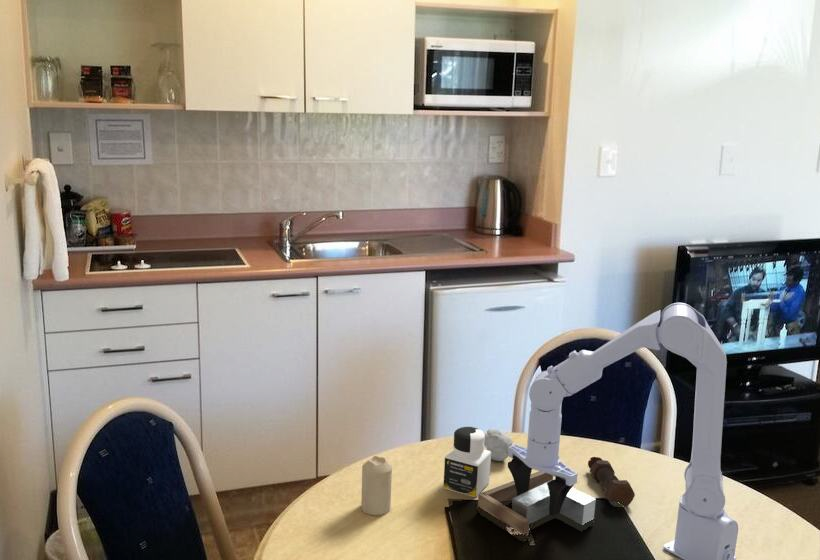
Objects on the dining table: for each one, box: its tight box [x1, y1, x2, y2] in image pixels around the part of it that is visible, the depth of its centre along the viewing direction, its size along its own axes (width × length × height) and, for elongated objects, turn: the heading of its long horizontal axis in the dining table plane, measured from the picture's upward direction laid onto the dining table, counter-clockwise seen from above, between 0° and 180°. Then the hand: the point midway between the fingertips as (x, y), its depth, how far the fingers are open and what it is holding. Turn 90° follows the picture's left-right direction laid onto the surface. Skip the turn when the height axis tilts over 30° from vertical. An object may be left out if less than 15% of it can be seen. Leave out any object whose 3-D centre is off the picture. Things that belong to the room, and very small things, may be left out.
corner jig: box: [477, 470, 554, 535], centre depth 145 cm, size 12×19×4 cm, turn 127°
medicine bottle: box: [442, 426, 492, 498], centre depth 153 cm, size 7×7×12 cm
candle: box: [361, 455, 393, 516], centre depth 144 cm, size 6×6×10 cm
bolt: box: [587, 456, 636, 508], centre depth 156 cm, size 6×5×15 cm
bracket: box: [511, 478, 596, 525], centre depth 141 cm, size 12×10×6 cm
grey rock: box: [484, 428, 514, 462], centre depth 165 cm, size 6×7×7 cm
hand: (538, 505), depth 142 cm, fingers open, 7 cm apart
